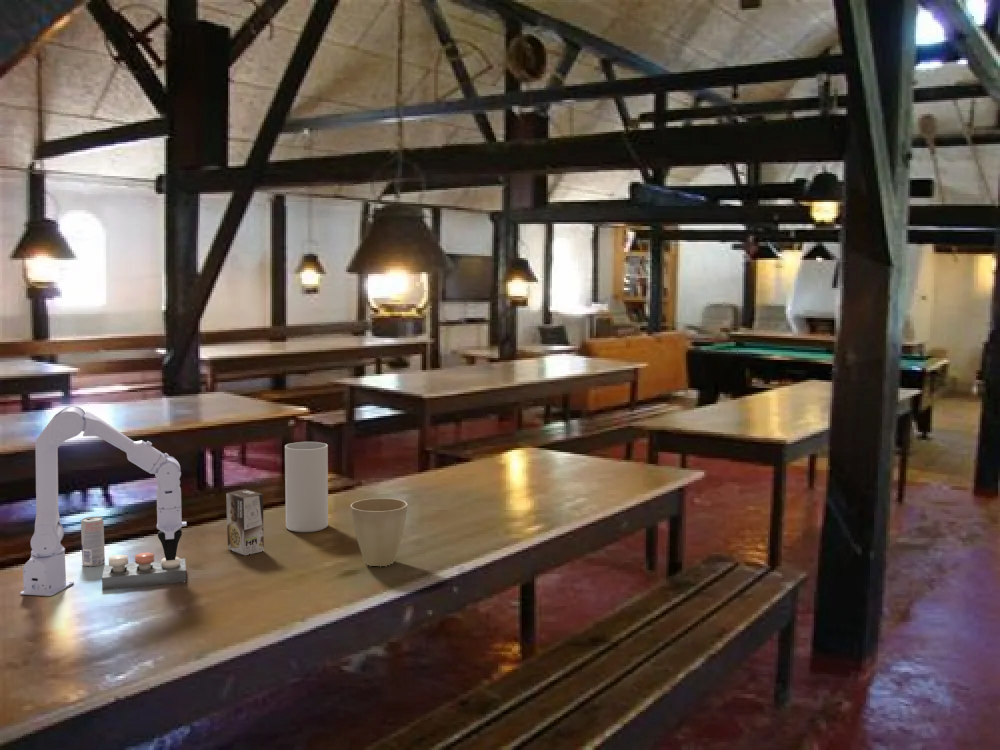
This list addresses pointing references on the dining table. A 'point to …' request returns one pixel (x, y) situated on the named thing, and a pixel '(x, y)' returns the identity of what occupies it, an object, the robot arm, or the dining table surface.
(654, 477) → the dining table surface
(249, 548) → the coffee box
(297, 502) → the cylinder vase
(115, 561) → the near cap
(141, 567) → the middle cap
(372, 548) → the plant pot
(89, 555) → the energy drink
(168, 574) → the mount
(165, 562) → the far cap
